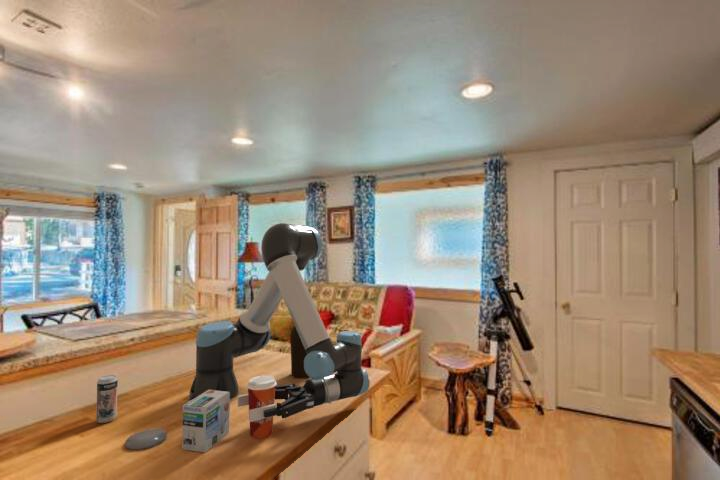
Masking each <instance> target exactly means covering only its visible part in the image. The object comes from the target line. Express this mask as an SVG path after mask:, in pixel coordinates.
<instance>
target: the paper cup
mask: <svg viewBox="0 0 720 480" xmlns="http://www.w3.org/2000/svg"><path fill="white" fill-rule="evenodd" d="M275 386H278V383H277V381H276V379H275V377H274V376H272V375H257V376H254V377H251V378H250V379H248V382H247V385H246V388H247V394H248V398H249V405H248V411H249V410H251V409H255V408H260V407H264V406H268V405H272V404H275V400H276V399H275ZM273 425H274V416H272V417H269V418H265V419H261V420H257V421H253V422H250V421H249V433H250V437H251V438H253V439H257V440H259V439H265V438H268V437H270V436H271V435H272V434H273V429H274V427H273Z"/></svg>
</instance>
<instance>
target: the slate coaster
mask: <svg viewBox="0 0 720 480" xmlns="http://www.w3.org/2000/svg"><path fill="white" fill-rule="evenodd" d="M167 437H168V435H167V431H166V430H164V429H162V428H151V429H145V430H142V431H139V432H136V433H134V434H132V435H130V436H129V437H128V438H126V440H125V448H126V450H130V451H144V450H148V449H152V448H154V447H157V446H159V445H160V444H162V443H164V442H165V440H167Z"/></svg>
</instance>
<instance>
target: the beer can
mask: <svg viewBox="0 0 720 480" xmlns="http://www.w3.org/2000/svg"><path fill="white" fill-rule="evenodd" d="M118 381H119V380H118V378H117V376H116V375H113V374H112V375H111V374H110V375H105V376H101V377H100V378H99V379H98V381H97V383H96V407H95V408H96V413H95V414H96V415H95V421H96V422H95V423H99V424H107V423H110V422H112V421H114V420H115V419H116V418H117V417H118V416H117V414H118V413H117V411H118V384H119V382H118Z"/></svg>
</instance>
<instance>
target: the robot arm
mask: <svg viewBox="0 0 720 480" xmlns="http://www.w3.org/2000/svg"><path fill="white" fill-rule="evenodd" d="M261 239H262V240H261V245H260V246H261V248H260V249H261V256H262V259H263V263H264V265H265V268H266V270H267V271H268V272H267V274H266V277H265V279H264V280H263V282H262V284H261V285H260V288H259V290H258V291H257V293H256V295H255V297H254V299H253V301H251V304H250V305H249V307H248V310H245V311H243V312H242V313H240V315H239V316H238V319H237V321H236V322H235V323H234V322H232V321H228V320H222V321H221V320H220V321H217V322H215V321H214V322H211V323H207V324H205V325H202V326H201V327H200V328H198V330H197V332H196V340H195V346H196V352H195V376H194V379H193V381H192V384H191V387H190V390H189V401H191V400H193V399H194V398H196V397H197V396H199V395H201V394H202V393H204V392H206V391H207V390H216V391H226V392H230V400H231V399H233V398H235V397H236V396H237V407H238V408H241V407H246V406H249V398H248V393H246V394H240V395H238V394H239V383H238V380H237V377H236V374H235V371H234V359H235V358H238V357H242V356H245V355H248V354H252V353H257V352H258V351H260V350H262V349H264V348H265V347H266V346H267V345H268V344H269V342H270V340H271V336H272V334H271V333H270V332H271V323H270V321H271V319H272V318H273V315H274V314H275V311H276V310H277V308H278V307H279V305H280V303H281V302H282V300H284V303H285V305H286V308H287V311H288V313H289V314H290V317H291V319H292V322H293V324H294V326H295V327H296V329H297V331H298V334H299V336H300V338H301V341H302V343H303V345H304V348H305V350H306V353H307V356H306V357H305V359H304V370H305V372H306V374H307V375H308V376H309V377H308V378H307V379H306V381H305V382H304V384H303V385H302V386H300V385H296V383H295V382H293V383H289V384H279V385H278V384H277V385H276V386H275V400H284V401H282V402H276V403H274V404H272V405H268V406H264V407H260V408H255V409H251V410H249V409H248V422H249V423H250V422H253V421H257V420H261V419H265V418H269V417H272V416H273V417H275V416H276V417H281V419H287V418H289V417H291V416H294V415H296V414H298V413H301V412H303V411H306V410H310V409H313V408H315V407H318V406H323V405H324V404H332V403H333V402H337V401H340V400H344V399H348V398H354V397H358V396H360V395H363V394H365V393H367V392H368V391H369V389H370V386H371V385H370V383H371V381H370V379H369V374H368V372H367V370H366V369H365V368H362V349H363V347H362V346H363V344H362V335H361V333H360V332H358V331H353V330H343V331H340V332H338V333H337V336H336V342H334V343H333V342H332V340H331V337H330V335H329V333H328V331H327V329H326V326H325V324H324V322H323V320H322V317H321V316H320V313H319V311H318V309H317V307H316V304H315V301H314V300H313V298H312V295H311V293H310V291H309V289H308V286H307V284H306V281H305V279H304V278H303V276H302V273H301V271H304V270H305V268H306V267H307V265H308V263H309V261H311V260H315V259H317V258H318V257H319V256H320V255H321V253H322V249H323V240H322V237H321V234H320V232H319V231H318V230H317V229H315V228H314V227H312V226H309V225H306V224H301V225H300V224H291V223H283V222H282V223H277V224H274V225H271V226H270V227H269V228H268V229H267V230H266V231H265V233H264V234H263V237H262V238H261Z"/></svg>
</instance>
